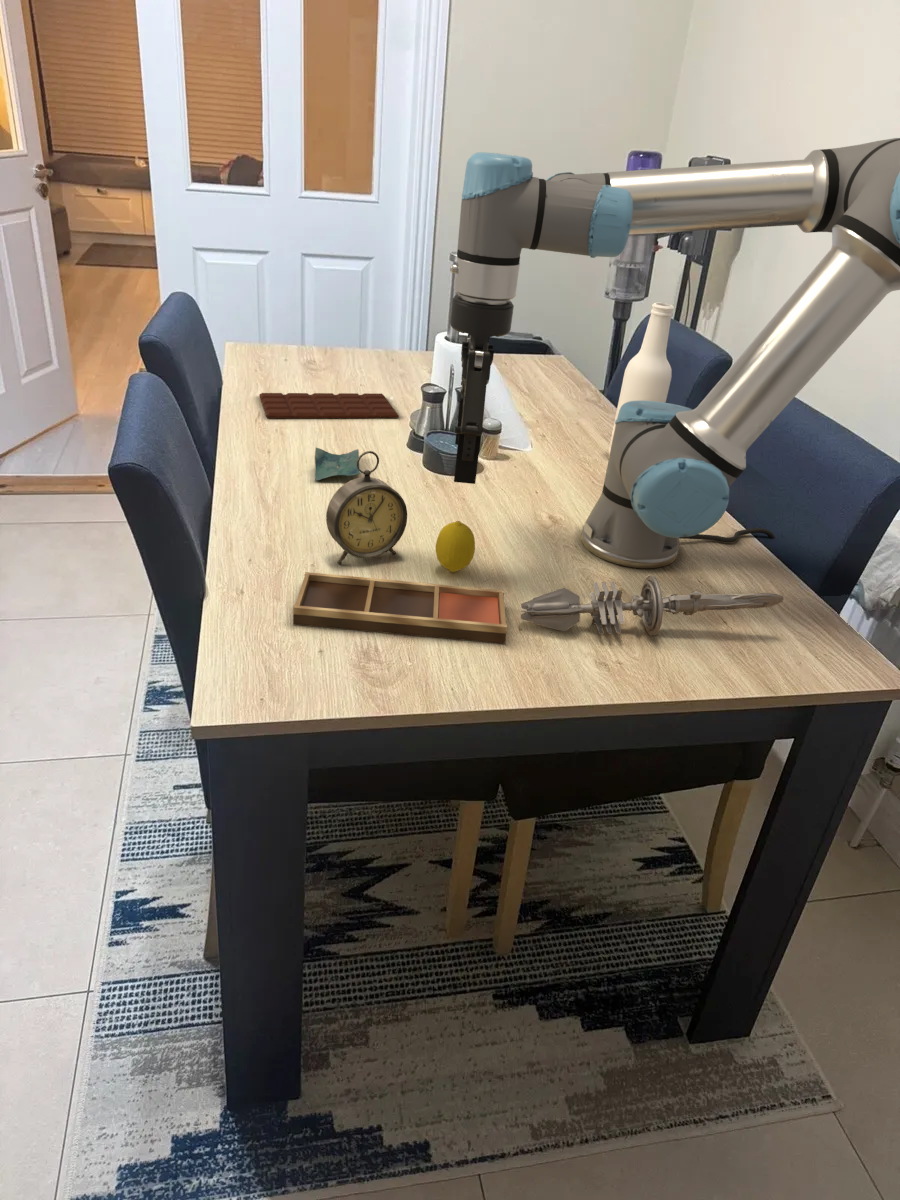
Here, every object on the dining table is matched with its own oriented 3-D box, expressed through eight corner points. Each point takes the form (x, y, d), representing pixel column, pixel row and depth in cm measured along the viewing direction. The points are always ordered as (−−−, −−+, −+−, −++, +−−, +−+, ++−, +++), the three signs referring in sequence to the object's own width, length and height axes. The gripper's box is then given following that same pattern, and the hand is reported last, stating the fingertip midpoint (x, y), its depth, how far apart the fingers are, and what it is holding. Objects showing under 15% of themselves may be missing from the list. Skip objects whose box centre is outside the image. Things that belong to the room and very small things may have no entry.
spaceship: (803, 605, 106) (783, 556, 111) (528, 618, 104) (520, 568, 109) (781, 640, 113) (764, 593, 118) (522, 654, 110) (514, 605, 115)
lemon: (467, 584, 119) (474, 533, 115) (429, 577, 119) (434, 526, 115) (474, 566, 123) (481, 517, 119) (437, 559, 124) (443, 510, 120)
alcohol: (603, 461, 167) (635, 304, 152) (612, 448, 174) (644, 296, 159) (647, 471, 164) (684, 312, 149) (654, 457, 172) (691, 305, 156)
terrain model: (360, 483, 145) (360, 473, 144) (314, 483, 144) (313, 472, 143) (358, 456, 156) (358, 446, 155) (315, 455, 155) (315, 446, 154)
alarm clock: (334, 570, 118) (338, 461, 110) (321, 553, 122) (323, 447, 114) (405, 560, 123) (414, 454, 115) (390, 543, 127) (397, 440, 119)
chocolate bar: (383, 397, 188) (383, 392, 187) (398, 417, 177) (398, 413, 176) (259, 396, 179) (259, 392, 179) (267, 418, 168) (267, 413, 168)
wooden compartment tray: (501, 606, 114) (504, 590, 113) (504, 643, 106) (507, 627, 105) (304, 588, 113) (305, 571, 112) (293, 624, 105) (293, 607, 104)
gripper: (454, 275, 113) (439, 428, 124) (451, 316, 91) (433, 496, 102) (509, 281, 113) (490, 433, 124) (520, 323, 92) (495, 502, 102)
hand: (464, 462), depth 113 cm, fingers open, 13 cm apart
